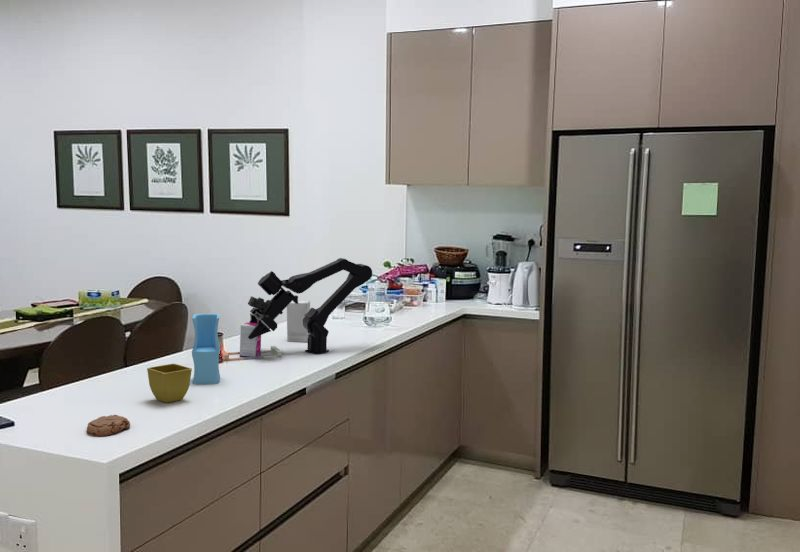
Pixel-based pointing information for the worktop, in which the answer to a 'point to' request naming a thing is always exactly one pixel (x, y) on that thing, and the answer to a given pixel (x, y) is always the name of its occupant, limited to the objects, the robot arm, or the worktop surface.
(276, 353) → the breaker track
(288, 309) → the skincare box
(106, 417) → the cookie
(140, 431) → the worktop surface
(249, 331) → the supplement box
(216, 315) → the light blue tall piece
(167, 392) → the flower pot
